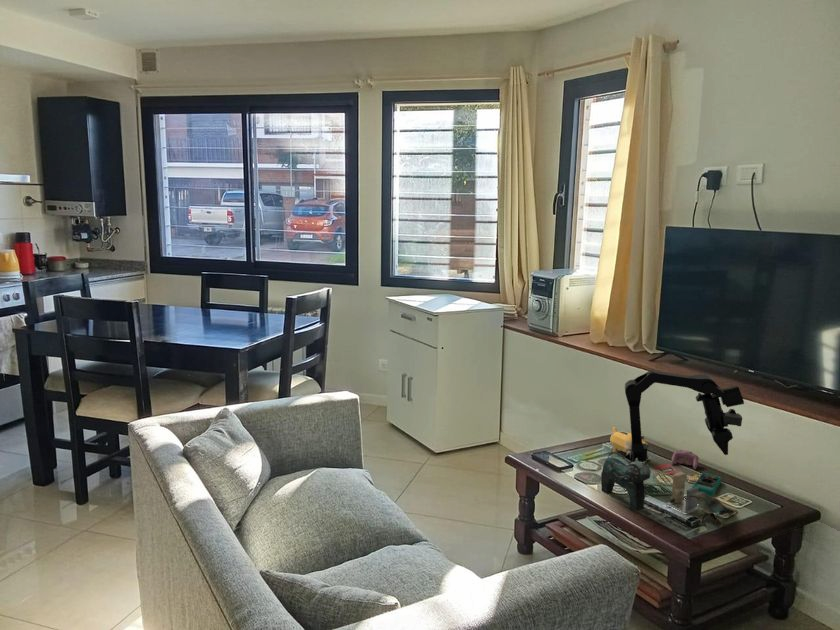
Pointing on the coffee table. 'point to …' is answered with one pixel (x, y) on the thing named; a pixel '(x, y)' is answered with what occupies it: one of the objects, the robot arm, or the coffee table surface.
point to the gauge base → (687, 502)
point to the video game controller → (685, 454)
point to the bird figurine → (711, 507)
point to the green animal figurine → (626, 478)
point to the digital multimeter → (707, 483)
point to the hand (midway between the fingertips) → (723, 449)
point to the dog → (622, 441)
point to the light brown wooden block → (678, 487)
